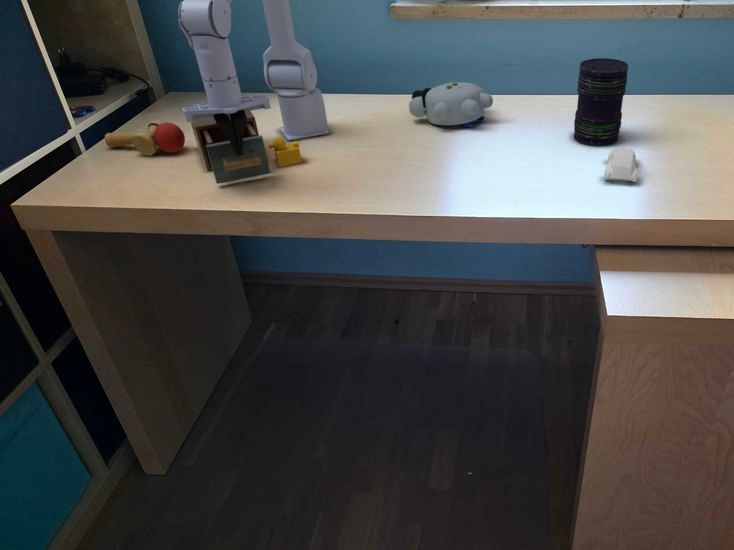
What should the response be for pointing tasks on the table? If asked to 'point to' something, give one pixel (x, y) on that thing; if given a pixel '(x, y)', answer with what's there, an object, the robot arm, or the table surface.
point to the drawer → (226, 160)
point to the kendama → (150, 138)
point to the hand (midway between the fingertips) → (239, 153)
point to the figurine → (451, 104)
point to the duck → (286, 152)
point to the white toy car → (621, 165)
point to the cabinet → (211, 123)
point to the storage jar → (600, 101)
